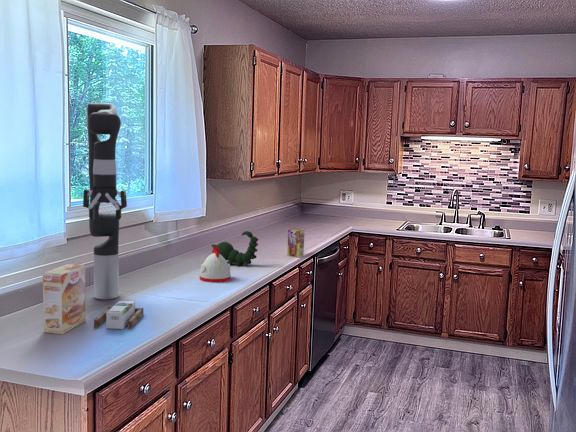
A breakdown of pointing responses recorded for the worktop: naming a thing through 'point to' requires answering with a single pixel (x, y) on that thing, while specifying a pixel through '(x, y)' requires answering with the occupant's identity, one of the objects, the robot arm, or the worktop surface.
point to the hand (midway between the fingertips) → (105, 220)
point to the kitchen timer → (215, 268)
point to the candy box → (296, 242)
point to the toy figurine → (234, 255)
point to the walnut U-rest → (131, 321)
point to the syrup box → (120, 314)
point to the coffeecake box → (64, 298)
